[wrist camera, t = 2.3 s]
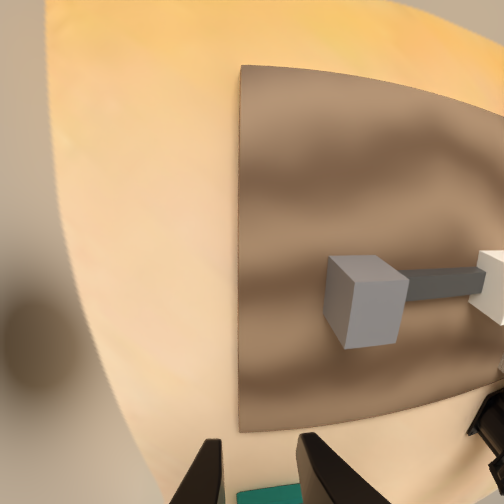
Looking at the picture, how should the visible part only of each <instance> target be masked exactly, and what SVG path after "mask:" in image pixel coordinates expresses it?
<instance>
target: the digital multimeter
mask: <svg viewBox="0 0 504 504" xmlns="http://www.w3.org/2000/svg"><path fill="white" fill-rule="evenodd" d="M237 504H304V503H303V499H302V493H301V486H300V484H292V485H284V486H277V487H270V488H263V489H257V490H250V491H244V492H239V493H237Z"/></svg>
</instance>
